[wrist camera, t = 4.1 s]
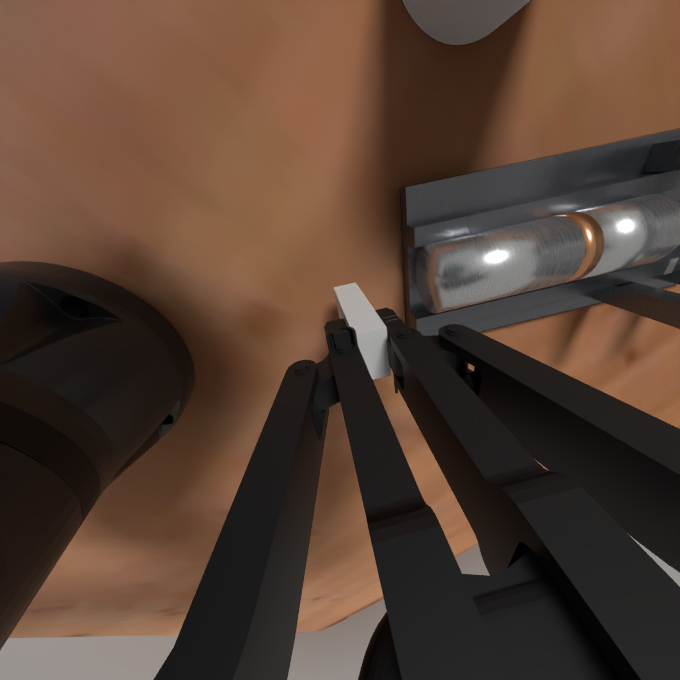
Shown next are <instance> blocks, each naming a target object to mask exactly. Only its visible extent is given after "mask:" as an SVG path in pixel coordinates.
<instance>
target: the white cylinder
mask: <svg viewBox="0 0 680 680" xmlns="http://www.w3.org/2000/svg"><path fill="white" fill-rule="evenodd" d="M402 1H403V4H404V6H405V7H406V9H407V11H408V13H409V14H410V16H411V17H412V19H413V20H414V21H415V23H416V24H417V25H418V26H419V27H420V28H421V29H422V30H423V31H424V32H425V33H426V34H427V35H429V36H430V37H432V38H433V39H435V40H437V41H439V42H442V43H445V44H450V45H464V44H469V43H472V42H475V41H478V40H480V39H482V38H484V37H486V36H487V35H489V34H490V33H492V32H493V31H494V30H495V29H497V28H498V27H499V26H500V25H502V24H503V23H504V22H505V21H506V20H508V19H509V18H510V17H511V16H512V15H514V14H515V13H516V12H517V11H519V10H520V9H521V8H522V7H523V6H525V5H526V4H527V3H528V2H529V1H531V0H402Z"/></svg>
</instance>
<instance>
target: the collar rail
mask: <svg viewBox="0 0 680 680" xmlns="http://www.w3.org/2000/svg"><path fill="white" fill-rule="evenodd" d="M651 194H665V195H669V196H672V197H675V198H677V199H678V200H680V128H678V129H674V130H669V131H664V132H660V133H655V134H650V135H645V136H641V137H636V138H631V139H627V140H622V141H617V142H613V143H608V144H603V145H599V146H594V147H589V148H584V149H580V150H575V151H570V152H566V153H561V154H556V155H552V156H547V157H542V158H538V159H533V160H528V161H524V162H519V163H514V164H509V165H505V166H500V167H495V168H491V169H486V170H481V171H477V172H472V173H467V174H463V175H458V176H453V177H448V178H444V179H439V180H434V181H430V182H425V183H420V184H416V185H411V186H406V187H402V188H400V201H401V223H402V244H403V266H404V288H405V309H406V326H407V327H410V328H414V329H416V330H418V331H419V332H420V333H421V334H422V335H424V336H430V335H438V331H439V329H440V328H441V327H443V326H445V325H449V324H458V325H463V326H466V327H469V328H471V329H473V330H475V331H477V332H481V331H485V330H489V329H493V328H497V327H501V326H505V325H510V324H514V323H518V322H522V321H526V320H530V319H534V318H538V317H543V316H547V315H551V314H555V313H559V312H563V311H567V310H572V309H576V308H580V307H584V306H588V305H592V304H596V303H600V302H604V303H607V304H610V305H612V306H615V307H618V308H621V309H624V310H627V311H630V312H633V313H636V314H638V315H641V316H644V317H647V318H650V319H653V320H656V321H659V322H662V323H664V324H667V325H670V326H673V327H676V328H679V329H680V294H679V293H675V292H671V291H667V290H663V289H659V288H663V287H667V286H671V285H675V284H680V245H679V246H678V247H677V248H676V249H675V250H674V251H672V252H671V253H670V254H668V255H667V256H665V257H663V258H661V259H659V260H657V261H654V262H651V263H647V264H643V265H638V266H634V267H630V268H626V269H621V270H617V271H613V272H609V273H605V274H600V275H596V276H592V277H588V278H583V279H579V280H575V281H571V282H567V283H562V284H558V285H554V286H550V287H545V288H541V289H537V290H533V291H529V292H524V293H520V294H516V295H512V296H507V297H503V298H499V299H495V300H491V301H486V302H482V303H478V304H474V305H469V306H465V307H461V308H457V309H452V310H448V311H444V312H440V313H432V312H430V311H429V310H428V309H427V308H426V306H425V305H424V303H423V302H422V299H421V297H420V294H419V291H418V287H417V282H416V273H415V267H416V258H417V255H418V252H419V250H420V249H421V247H422V246H424V245H427V244H431V243H436V242H440V241H445V240H449V239H454V238H458V237H463V236H467V235H472V234H476V233H481V232H485V231H489V230H494V229H498V228H503V227H507V226H512V225H516V224H521V223H525V222H530V221H534V220H538V219H543V218H547V217H552V216H556V215H561V214H565V213H570V212H574V211H579V210H583V209H588V208H592V207H596V206H601V205H605V204H610V203H614V202H619V201H623V200H628V199H632V198H637V197H641V196H646V195H651Z"/></svg>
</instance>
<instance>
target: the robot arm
mask: <svg viewBox="0 0 680 680" xmlns="http://www.w3.org/2000/svg"><path fill="white" fill-rule="evenodd" d="M334 293H335V298H336V303H337V308H338V313H339V318H340V319H339V320H334V321H330V322H327V323H326V325H325V327H324V329H325V333H326V340H327V344H328V348H329V354H328V356H327V357H326V358H325V359H324V360H323V361H321V362H319V363H317V364H316V363H315V362H314V361H311V360H301V361H298V362H295V363H293V364H292V365H291V366H290V367H289V368H288V369H287V371H286V373H285V376H284V378H283V381H282V383H281V385H280V388H279V390H278V393H277V395H276V398H275V400H274V403H273V405H272V408H271V410H270V412H269V415H268V417H267V420H266V422H265V425H264V427H263V430H262V432H261V435H260V437H259V439H258V442H257V444H256V447H255V449H254V452H253V454H252V457H251V459H250V461H249V464H248V466H247V469H246V471H245V474H244V476H243V479H242V481H241V484H240V486H239V488H238V491H237V493H236V496H235V498H234V501H233V503H232V506H231V508H230V511H229V513H228V515H227V518H226V520H225V523H224V525H223V528H222V530H221V533H220V535H219V537H218V540H217V542H216V545H215V547H214V550H213V552H212V555H211V557H210V560H209V562H208V564H207V567H206V569H205V572H204V574H203V577H202V579H201V582H200V584H199V587H198V589H197V591H196V594H195V596H194V599H193V601H192V604H191V606H190V609H189V611H188V613H187V616H186V618H185V621H184V623H183V626H182V628H181V631H180V633H179V636H178V638H177V640H176V643H175V645H174V648H173V649H172V651H171V653H170V654H169V656H168V657H167V659H166V661H165V662H164V664H163V665H162V667H161V669H160V670H159V672H158V674H157V675H156V677H155V678H154V680H287V677H288V671H289V667H290V661H291V656H292V650H293V645H294V640H295V633H296V627H297V620H298V614H299V607H300V600H301V594H302V587H303V581H304V574H305V567H306V561H307V554H308V547H309V541H310V534H311V528H312V521H313V514H314V508H315V501H316V494H317V488H318V481H319V475H320V468H321V461H322V455H323V448H324V441H325V435H326V428H327V422H328V415H329V407H331V406H332V405H334V404H336V403H338V402H341V406H342V411H343V415H344V420H345V424H346V428H347V433H348V437H349V442H350V446H351V451H352V455H353V460H354V464H355V469H356V473H357V478H358V482H359V487H360V491H361V496H362V500H363V504H364V509H365V513H366V518H367V523H368V528H369V533H370V538H371V542H372V547H373V551H374V556H375V560H376V565H377V569H378V574H379V578H380V583H381V587H382V592H383V596H384V600H385V605H386V609H387V612H386V614H385V615H384V617H383V618H382V619H381V621H380V622H379V624H378V626H377V627H376V629H375V631H374V633H373V635H372V637H371V640H370V642H369V645H368V647H367V650H366V653H365V656H364V659H363V663H362V666H361V671H360V674H359V678H358V680H680V587H679V586H678V585H677V584H676V583H675V582H674V581H673V580H672V578H670V576H669V575H668V574H667V573H666V572H665V571H664V570H663V569H662V568H661V567H660V566H659V565H658V564H657V563H656V562H655V561H654V560H653V559H652V558H651V557H650V556H649V555H648V554H647V553H646V552H645V551H644V550H643V549H642V548H641V547H640V546H639V545H638V544H637V543H636V542H635V541H634V540H633V539H632V538H631V537H630V536H632V537H633V538H634V539H635V540H637V541H638V542H639V543H640V544H642V545H643V546H645V547H646V548H647V549H648V550H650V551H651V552H652V553H654V554H655V555H656V556H658V557H659V558H660V559H662V560H663V561H664V562H665V563H667V564H668V565H670V566H671V567H673V568H674V569H676V570H677V571H679V572H680V429H679V428H676V427H674V426H672V425H670V424H668V423H666V422H664V421H662V420H660V419H658V418H656V417H654V416H651V415H649V414H647V413H645V412H643V411H641V410H639V409H637V408H635V407H633V406H631V405H629V404H627V403H624V402H622V401H620V400H618V399H616V398H614V397H612V396H610V395H608V394H606V393H604V392H602V391H600V390H597V389H595V388H593V387H591V386H589V385H587V384H585V383H583V382H581V381H579V380H577V379H575V378H573V377H570V376H568V375H566V374H564V373H562V372H560V371H558V370H556V369H554V368H552V367H550V366H548V365H545V364H543V363H541V362H539V361H537V360H535V359H533V358H531V357H529V356H527V355H525V354H523V353H521V352H518V351H516V350H514V349H512V348H510V347H508V346H506V345H504V344H502V343H500V342H498V341H496V340H494V339H491V338H489V337H487V336H485V335H483V334H481V333H479V332H477V331H475V330H473V329H471V328H469V327H466V326H463V325H458V324H449V325H445V326H443V327H441V328H440V329H439V331H438V335H430V336H424V335H422V334H421V333H420V332H419V331H418V330H416V329H414V328H410V327H407V326H406V325H405V324H404V323H403V322H402V320H401V319H399V317H398V316H397V315H396V313H395V312H394V311H393V310H391V309H388V308H383V309H379V310H374V308H373V307H372V306H371V304H370V303H369V301H368V300H367V298H366V297H365V295H364V294H363V293H362V291H361V290H360V288H359V287H358V285H357V284H356V283H351V284H347V285H342V286H338V287H334ZM468 363H469V364H471V365H473V366H474V367H475V368H474V371H471V370H470V369H468ZM390 367H391V369H392V371H393V374H394V386H395V393H398V389H399V391H400V393H401V395H402V397H403V399H404V400H405V402H406V404H407V406H408V408H409V410H410V412H411V414H412V416H413V417H414V419H415V421H416V423H417V425H418V427H419V429H420V431H421V433H422V434H423V436H424V438H425V440H426V442H427V444H428V446H429V448H430V450H431V451H432V453H433V455H434V457H435V459H436V461H437V463H438V465H439V467H440V468H441V470H442V472H443V474H444V476H445V478H446V480H447V482H448V484H449V486H450V487H451V489H452V491H453V493H454V495H455V497H456V499H457V501H458V503H459V504H460V506H461V508H462V510H463V512H464V514H465V516H466V518H467V520H468V521H469V523H470V525H471V527H472V529H473V531H474V533H475V535H476V538H477V540H478V544H479V548H480V551H481V555H482V558H483V560H484V563H485V565H486V568H487V570H488V572H489V574H490V576H484V575H470V574H462V573H461V571H460V568H459V566H458V564H457V562H456V560H455V557H454V555H453V553H452V550H451V548H450V546H449V544H448V541H447V539H446V537H445V535H444V532H443V530H442V528H441V525H440V523H439V521H438V519H437V517H436V515H435V513H434V512H433V510H432V509H431V507H430V506H428V505H427V504H426V503H425V501H424V500H423V498H422V495H421V493H420V491H419V488H418V486H417V484H416V481H415V479H414V477H413V474H412V472H411V469H410V467H409V465H408V462H407V460H406V458H405V455H404V453H403V451H402V448H401V446H400V444H399V441H398V439H397V436H396V434H395V432H394V429H393V427H392V425H391V422H390V420H389V418H388V415H387V413H386V411H385V408H384V406H383V403H382V401H381V399H380V396H379V394H378V392H377V389H376V387H375V385H374V382H373V379H377V378H381V377H385V376H389V375H391V370H390ZM193 385H194V369H193V364H192V360H191V357H190V354H189V352H188V350H187V348H186V346H185V344H184V342H183V340H182V339H181V337H180V336H179V335H178V333H177V332H176V331H175V329H174V328H173V327H172V326H171V325H170V323H169V322H168V321H167V320H166V319H165V318H164V317H163V316H162V315H160V314H159V313H158V312H157V311H156V310H155V309H154V308H152V307H151V306H150V305H149V304H147V303H146V302H144V301H143V300H142V299H140V298H139V297H137V296H135V295H134V294H132V293H131V292H129V291H127V290H125V289H124V288H122V287H120V286H118V285H116V284H114V283H112V282H110V281H107V280H105V279H103V278H100V277H98V276H95V275H93V274H90V273H87V272H84V271H81V270H77V269H73V268H70V267H65V266H60V265H55V264H49V263H41V262H26V261H18V262H3V263H0V650H1V648H2V647H3V645H4V644H5V642H6V641H7V639H8V637H9V636H10V634H11V633H12V631H13V630H14V628H15V627H16V625H17V623H18V622H19V620H20V619H21V617H22V616H23V614H24V613H25V611H26V610H27V608H28V606H29V605H30V603H31V602H32V600H33V599H34V597H35V596H36V594H37V593H38V591H39V589H40V588H41V586H42V585H43V583H44V582H45V580H46V579H47V577H48V575H49V574H50V572H51V571H52V569H53V568H54V566H55V565H56V563H57V562H58V560H59V558H60V557H61V555H62V554H63V552H64V551H65V549H66V548H67V546H68V544H69V543H70V541H71V540H72V538H73V537H74V535H75V534H76V532H77V530H78V529H79V527H80V525H81V524H82V522H83V521H84V519H85V518H86V516H87V515H88V513H89V512H90V510H91V509H92V507H93V506H94V504H95V502H96V501H97V499H98V498H99V497H100V495H101V494H102V492H103V491H104V490H105V489H106V488H107V487H108V486H109V485H110V484H111V483H112V482H113V481H114V480H115V479H116V478H118V477H119V476H120V475H121V474H122V473H123V472H124V471H125V470H126V469H127V468H128V467H130V466H131V465H132V464H133V463H134V462H135V461H136V460H137V459H138V458H140V457H141V456H142V455H143V454H144V453H145V452H146V451H147V450H148V449H149V448H151V447H152V446H153V445H154V444H155V443H156V442H157V441H158V440H159V439H160V438H162V437H163V436H164V435H165V434H166V433H167V432H168V431H169V430H170V429H171V428H172V427H173V425H174V424H175V423H176V422H177V420H178V419H179V417H180V415H181V413H182V411H183V410H184V408H185V406H186V404H187V402H188V400H189V398H190V396H191V393H192V390H193ZM535 459H536V460H537V461H538V462H539V463H541V464H542V465H543V466H544V467H546V468H547V469H548V470H549V471H548V470H546V469H544V468H543V467H542V466H541V465H540V464H539V463H538V462H537V461H536V460H535ZM626 532H627V533H628V534H629V535H630V536H629V535H628V534H627V533H626Z"/></svg>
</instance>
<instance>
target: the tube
mask: <svg viewBox="0 0 680 680" xmlns="http://www.w3.org/2000/svg"><path fill="white" fill-rule="evenodd" d="M679 245H680V200H678V199H677V198H675V197H672V196H669V195H665V194H651V195H646V196H641V197H637V198H632V199H628V200H623V201H619V202H614V203H610V204H605V205H601V206H596V207H592V208H588V209H583V210H579V211H574V212H570V213H565V214H561V215H556V216H552V217H547V218H543V219H538V220H534V221H530V222H525V223H521V224H516V225H512V226H507V227H503V228H498V229H494V230H489V231H485V232H481V233H476V234H472V235H467V236H463V237H458V238H454V239H449V240H445V241H440V242H436V243H431V244H427V245H424V246H422V247H421V249H420V250H419V252H418V255H417V258H416V267H415V273H416V282H417V287H418V291H419V294H420V297H421V299H422V302H423V303H424V305H425V306H426V308H427V309H428V310H429V311H430V312H432V313H440V312H444V311H448V310H452V309H457V308H461V307H465V306H469V305H474V304H478V303H482V302H486V301H491V300H495V299H499V298H503V297H507V296H512V295H516V294H520V293H524V292H529V291H533V290H537V289H541V288H545V287H550V286H554V285H558V284H562V283H567V282H571V281H575V280H579V279H583V278H588V277H592V276H596V275H600V274H605V273H609V272H613V271H617V270H621V269H626V268H630V267H634V266H638V265H643V264H647V263H651V262H654V261H657V260H659V259H661V258H663V257H665V256H667V255H668V254H670V253H671V252H672V251H674V250H675V249H676V248H677V247H678V246H679Z"/></svg>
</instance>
